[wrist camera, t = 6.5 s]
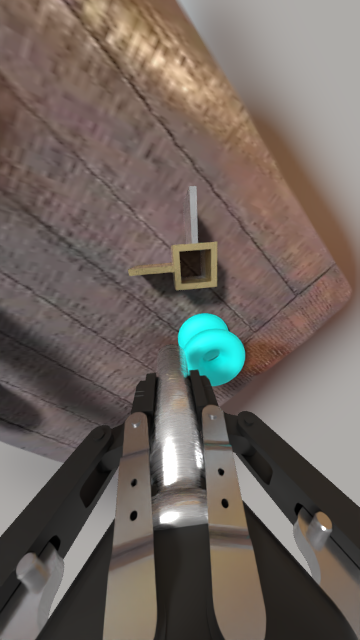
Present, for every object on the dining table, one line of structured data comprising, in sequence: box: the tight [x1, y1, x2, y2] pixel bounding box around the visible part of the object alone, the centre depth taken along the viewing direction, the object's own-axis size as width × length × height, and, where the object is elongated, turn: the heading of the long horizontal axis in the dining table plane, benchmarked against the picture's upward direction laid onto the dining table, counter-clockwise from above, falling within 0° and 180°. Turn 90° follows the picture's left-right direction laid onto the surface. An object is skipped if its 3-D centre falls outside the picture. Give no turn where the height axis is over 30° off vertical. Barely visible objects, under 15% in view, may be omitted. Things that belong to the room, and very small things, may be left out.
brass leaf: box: [128, 242, 217, 290], centre depth 26 cm, size 12×6×7 cm, turn 94°
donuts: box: [178, 313, 245, 386], centre depth 30 cm, size 10×10×10 cm
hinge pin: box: [150, 344, 208, 531], centre depth 12 cm, size 3×3×12 cm
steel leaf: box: [170, 186, 206, 286], centre depth 25 cm, size 6×12×7 cm, turn 4°
